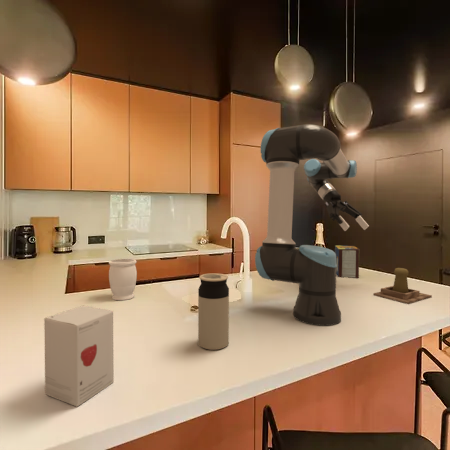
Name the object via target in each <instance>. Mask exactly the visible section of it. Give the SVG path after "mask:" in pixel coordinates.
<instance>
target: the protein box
mask: <svg viewBox="0 0 450 450" xmlns="http://www.w3.org/2000/svg"><path fill="white" fill-rule="evenodd" d="M334 247H335V248H334V252H335V254H336V264H337V267H336V277H337V278H344V277H348V278H349V279H359V277H360V275H359V274H360V248H359V247H356V246H355V245H334ZM348 278H347V279H348Z"/></svg>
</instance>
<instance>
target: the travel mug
mask: <svg viewBox="0 0 450 450" xmlns="http://www.w3.org/2000/svg"><path fill="white" fill-rule="evenodd" d="M199 279H200V285H199V287H198V290H197V291H198V292H197V293H198V298H197V299H198V302H197V303H198V304H197V305H198V307H197V308H198V311H197V312H198V315H197V317H198V320H197V321H198V324H197V326H198V330H197V331H198V336H197V337H198V339H197V341H198V343H197V345H198V346H199V347H201V348H203V349H205V350H209V351H218V350H220V349H224V348H225V347H227V346H229V343H230V342H229V341H230V340H229V338H230V337H229V334H230V333H229V332H230V331H229V329H230V327H229V326H230V325H229V323H230V319H229V318H230V316H229V315H230V311H229V310H230V303H229V302H230V288H229V286H228V285H227V281H228V279H229V276H228V275H227V274H225V273H224V274H223V273H215V272H214V273H204V274H201V275H199Z"/></svg>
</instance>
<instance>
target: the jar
mask: <svg viewBox="0 0 450 450" xmlns="http://www.w3.org/2000/svg"><path fill="white" fill-rule="evenodd" d="M137 263H138V262H137V260H136V259H134V258H120V259H119V258H118V259H112V260H108V265H109V269H108V280H109V281H108V282H109V288H110V291H111V293H112V296H111V298H112V299H111V300H114V301H127V300H132V299H133V298H135V294H134V291H135V289H136V283H137V276H138V275H137V274H138V272H137V265H136V264H137Z"/></svg>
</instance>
